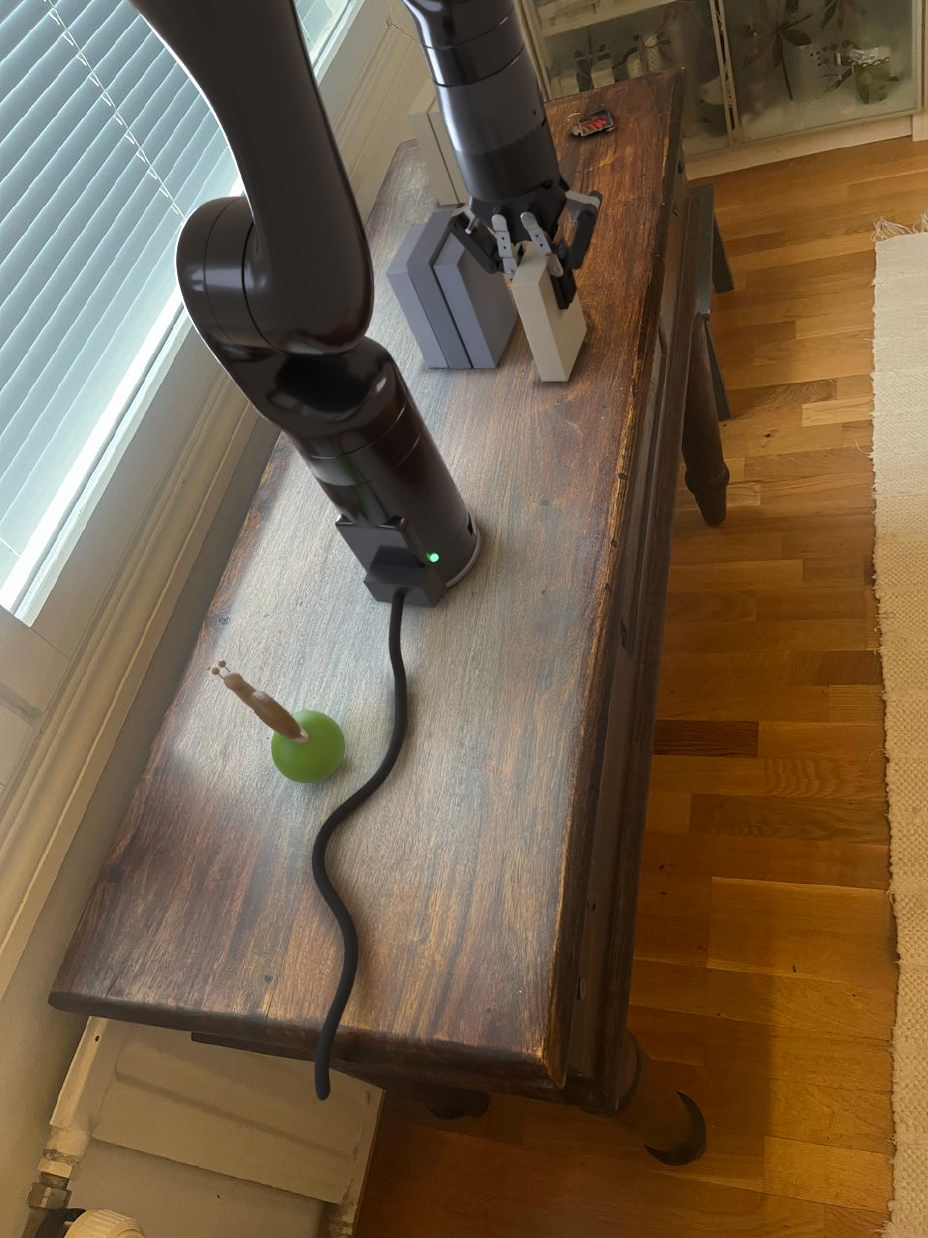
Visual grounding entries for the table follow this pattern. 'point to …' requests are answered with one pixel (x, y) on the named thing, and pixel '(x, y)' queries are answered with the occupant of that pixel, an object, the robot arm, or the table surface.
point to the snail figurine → (293, 733)
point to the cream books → (436, 147)
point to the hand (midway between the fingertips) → (549, 303)
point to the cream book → (547, 318)
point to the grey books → (450, 298)
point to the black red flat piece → (593, 122)
